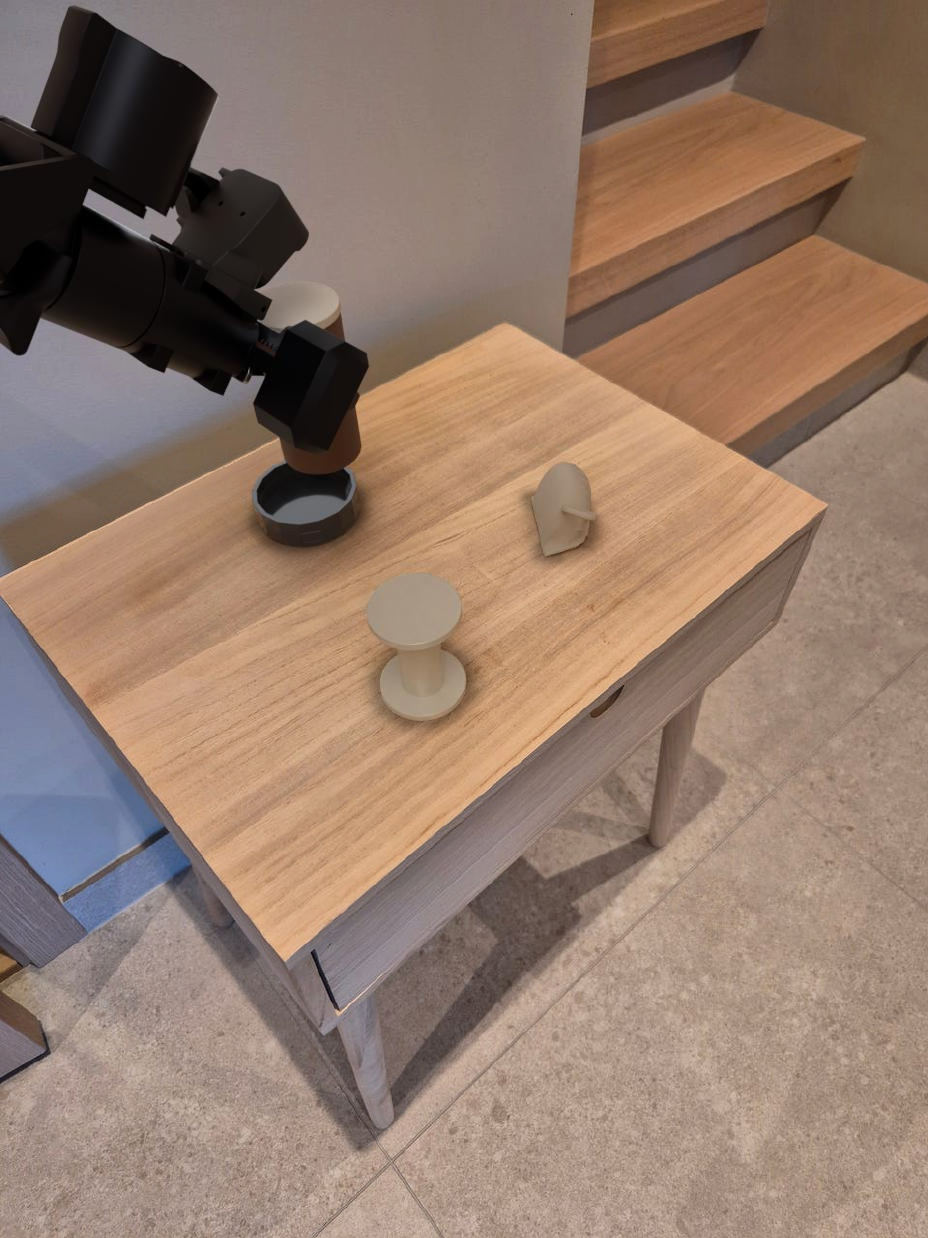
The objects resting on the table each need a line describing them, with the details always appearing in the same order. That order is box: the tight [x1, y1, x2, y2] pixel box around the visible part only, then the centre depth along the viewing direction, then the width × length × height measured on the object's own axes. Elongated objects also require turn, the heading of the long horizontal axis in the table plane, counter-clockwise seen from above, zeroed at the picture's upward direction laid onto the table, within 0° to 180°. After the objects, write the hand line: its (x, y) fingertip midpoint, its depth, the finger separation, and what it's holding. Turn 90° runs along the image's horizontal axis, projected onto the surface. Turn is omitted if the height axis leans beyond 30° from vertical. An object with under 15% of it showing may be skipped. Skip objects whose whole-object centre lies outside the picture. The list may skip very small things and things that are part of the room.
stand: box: [365, 572, 467, 722], centre depth 54 cm, size 6×6×8 cm
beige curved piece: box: [530, 461, 599, 558], centre depth 64 cm, size 4×8×5 cm, turn 4°
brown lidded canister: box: [256, 281, 362, 474], centre depth 55 cm, size 6×6×11 cm
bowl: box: [251, 460, 361, 548], centre depth 68 cm, size 8×8×2 cm
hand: (327, 384), depth 57 cm, fingers closed on brown lidded canister, 5 cm apart
